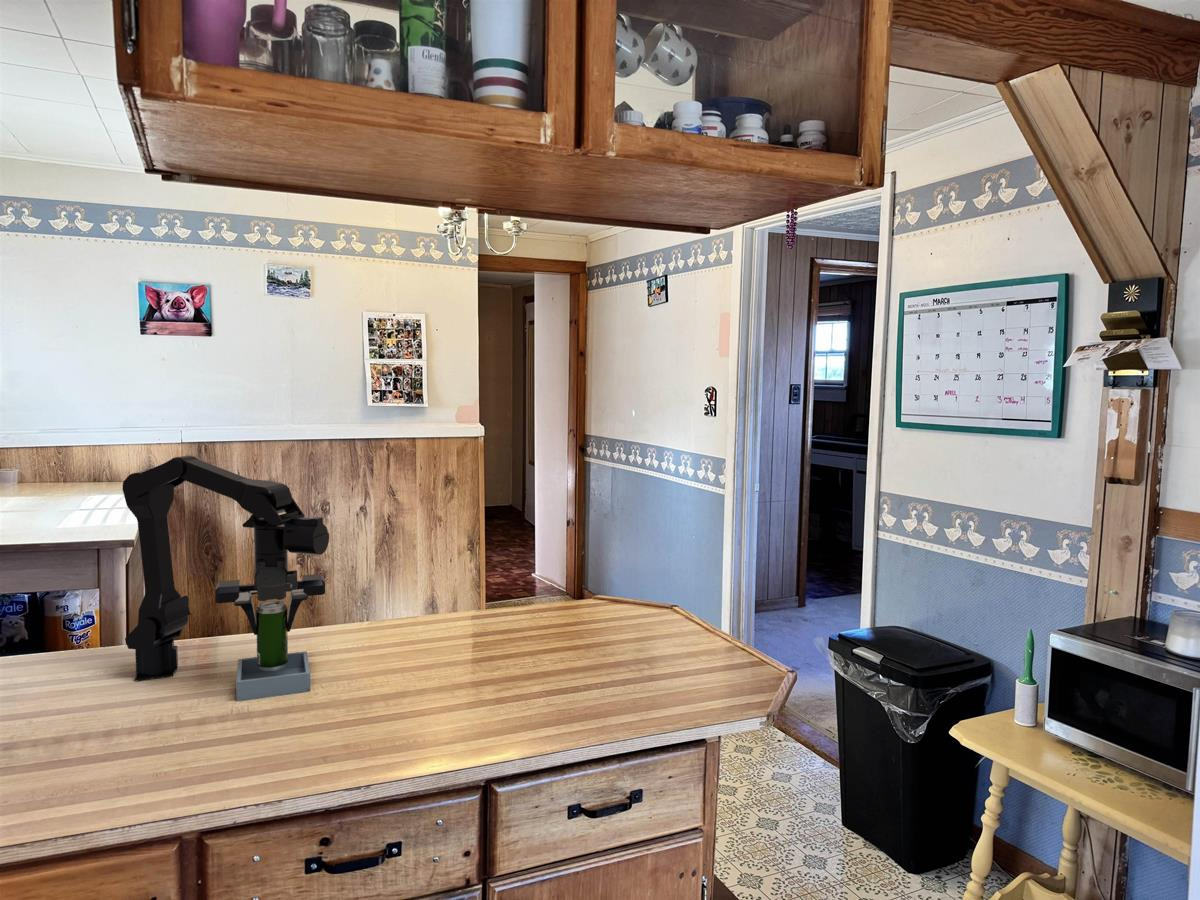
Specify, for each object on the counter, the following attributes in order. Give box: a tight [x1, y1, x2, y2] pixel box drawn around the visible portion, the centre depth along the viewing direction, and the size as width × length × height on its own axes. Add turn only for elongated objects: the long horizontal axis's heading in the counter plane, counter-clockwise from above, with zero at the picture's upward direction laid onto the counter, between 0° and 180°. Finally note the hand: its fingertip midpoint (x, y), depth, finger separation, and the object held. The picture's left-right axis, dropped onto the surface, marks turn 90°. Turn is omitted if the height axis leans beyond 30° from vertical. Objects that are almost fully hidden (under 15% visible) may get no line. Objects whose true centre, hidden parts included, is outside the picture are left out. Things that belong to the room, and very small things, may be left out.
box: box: [235, 650, 311, 702], centre depth 146 cm, size 12×12×4 cm
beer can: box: [255, 600, 289, 671], centre depth 146 cm, size 5×5×12 cm
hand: (272, 632), depth 146 cm, fingers closed on beer can, 5 cm apart
